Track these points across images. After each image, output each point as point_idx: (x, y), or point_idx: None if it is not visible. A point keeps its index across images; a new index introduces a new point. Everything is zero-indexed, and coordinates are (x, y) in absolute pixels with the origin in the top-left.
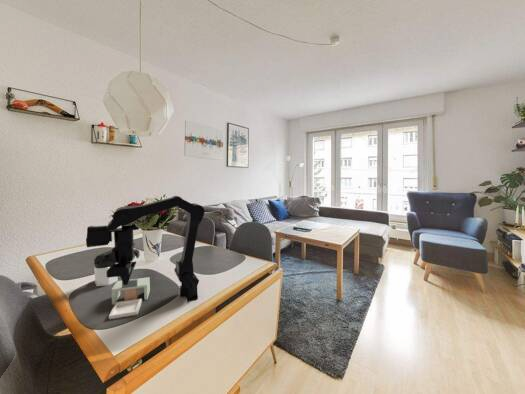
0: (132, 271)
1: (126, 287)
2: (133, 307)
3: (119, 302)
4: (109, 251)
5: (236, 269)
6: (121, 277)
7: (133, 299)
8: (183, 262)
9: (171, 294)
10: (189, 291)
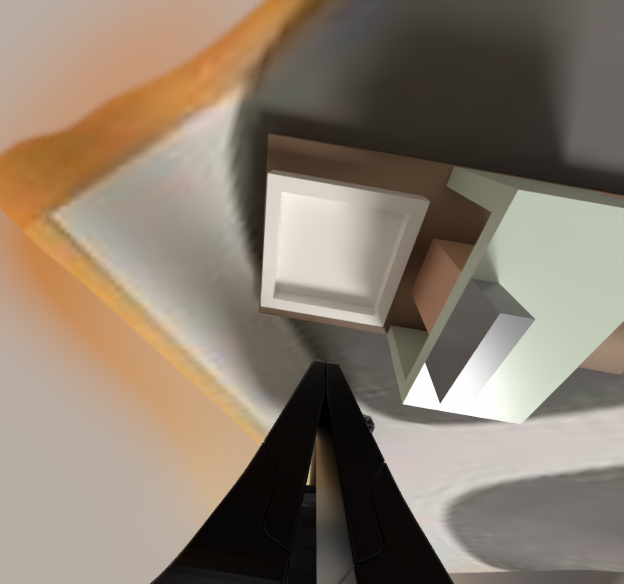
0: (319, 574)
1: (454, 307)
2: (332, 283)
3: (409, 221)
4: None
5: (432, 536)
6: (258, 455)
7: (417, 285)
8: None
9: (393, 397)
10: (311, 463)
